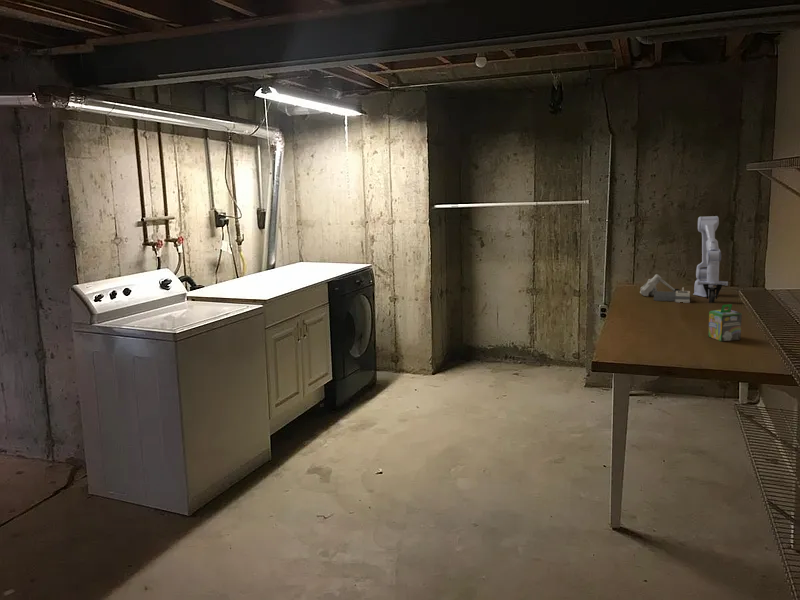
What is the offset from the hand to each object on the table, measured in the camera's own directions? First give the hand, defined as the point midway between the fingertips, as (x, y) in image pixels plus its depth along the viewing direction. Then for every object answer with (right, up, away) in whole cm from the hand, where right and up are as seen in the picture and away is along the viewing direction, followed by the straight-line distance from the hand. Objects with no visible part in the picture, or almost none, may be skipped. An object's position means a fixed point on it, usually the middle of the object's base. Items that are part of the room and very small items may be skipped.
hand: (711, 298), depth 339 cm
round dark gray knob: (0, -2, 0) cm, 2 cm away
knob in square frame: (-16, 0, +13) cm, 20 cm away
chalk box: (-30, -17, -71) cm, 79 cm away
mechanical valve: (-18, +1, +25) cm, 30 cm away
